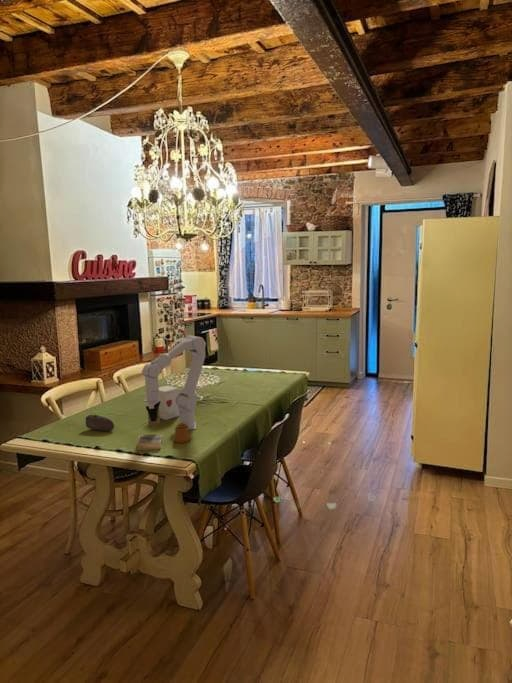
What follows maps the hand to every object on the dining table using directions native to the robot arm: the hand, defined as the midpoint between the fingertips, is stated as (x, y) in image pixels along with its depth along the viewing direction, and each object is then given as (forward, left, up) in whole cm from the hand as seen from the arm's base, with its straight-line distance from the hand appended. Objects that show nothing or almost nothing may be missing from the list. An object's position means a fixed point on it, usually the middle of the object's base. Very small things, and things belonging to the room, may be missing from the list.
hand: (154, 419), depth 221 cm
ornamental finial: (+7, +12, -9) cm, 17 cm away
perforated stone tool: (-13, -27, -9) cm, 31 cm away
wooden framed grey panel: (+11, -1, -8) cm, 13 cm away
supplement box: (-28, +3, -9) cm, 29 cm away
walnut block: (0, 0, -2) cm, 2 cm away
